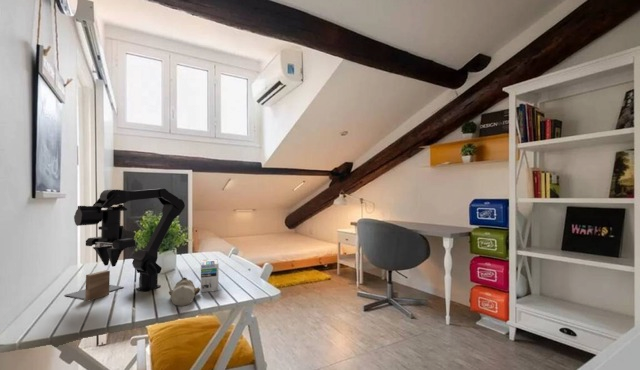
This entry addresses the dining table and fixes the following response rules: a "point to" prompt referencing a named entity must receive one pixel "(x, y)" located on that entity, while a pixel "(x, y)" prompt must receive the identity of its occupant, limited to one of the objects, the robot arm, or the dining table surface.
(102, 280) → the walnut tile
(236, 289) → the dining table surface
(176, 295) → the ceramic sculpture
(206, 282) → the light bulb box
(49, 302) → the dining table surface
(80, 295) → the mat
